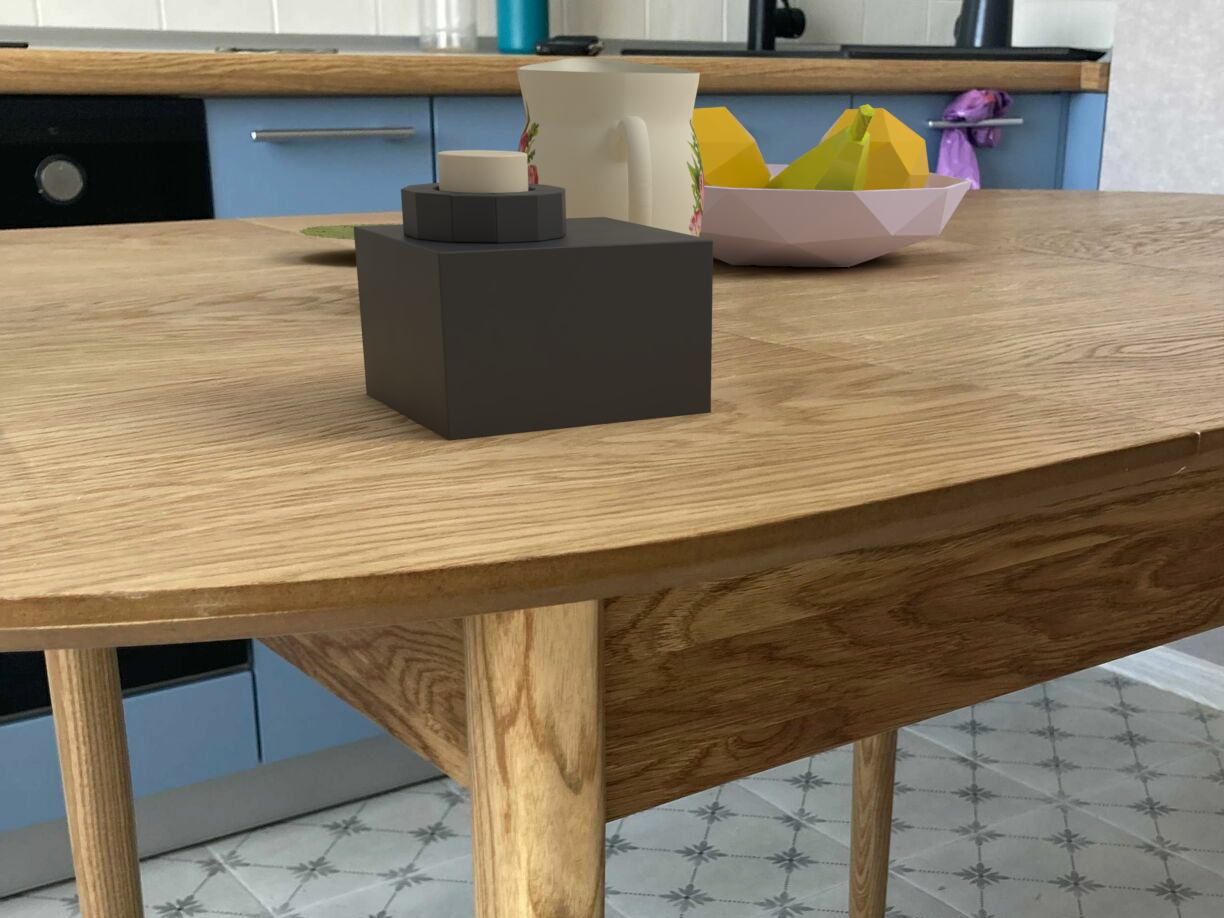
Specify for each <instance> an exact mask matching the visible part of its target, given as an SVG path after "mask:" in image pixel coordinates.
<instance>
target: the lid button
mask: <svg viewBox="0 0 1224 918" xmlns="http://www.w3.org/2000/svg"><path fill="white" fill-rule="evenodd" d="M437 171H438V172H437V173H438V183H439V191H451V192H467V193H505V192H524V191H528V163H527V154H526V153H523V152H518V151H513V150H494V149H493V150H492V149H490V150H489V149H460V150H459V149H458V150H457V149H456V150H442V151H438V152H437Z"/></svg>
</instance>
